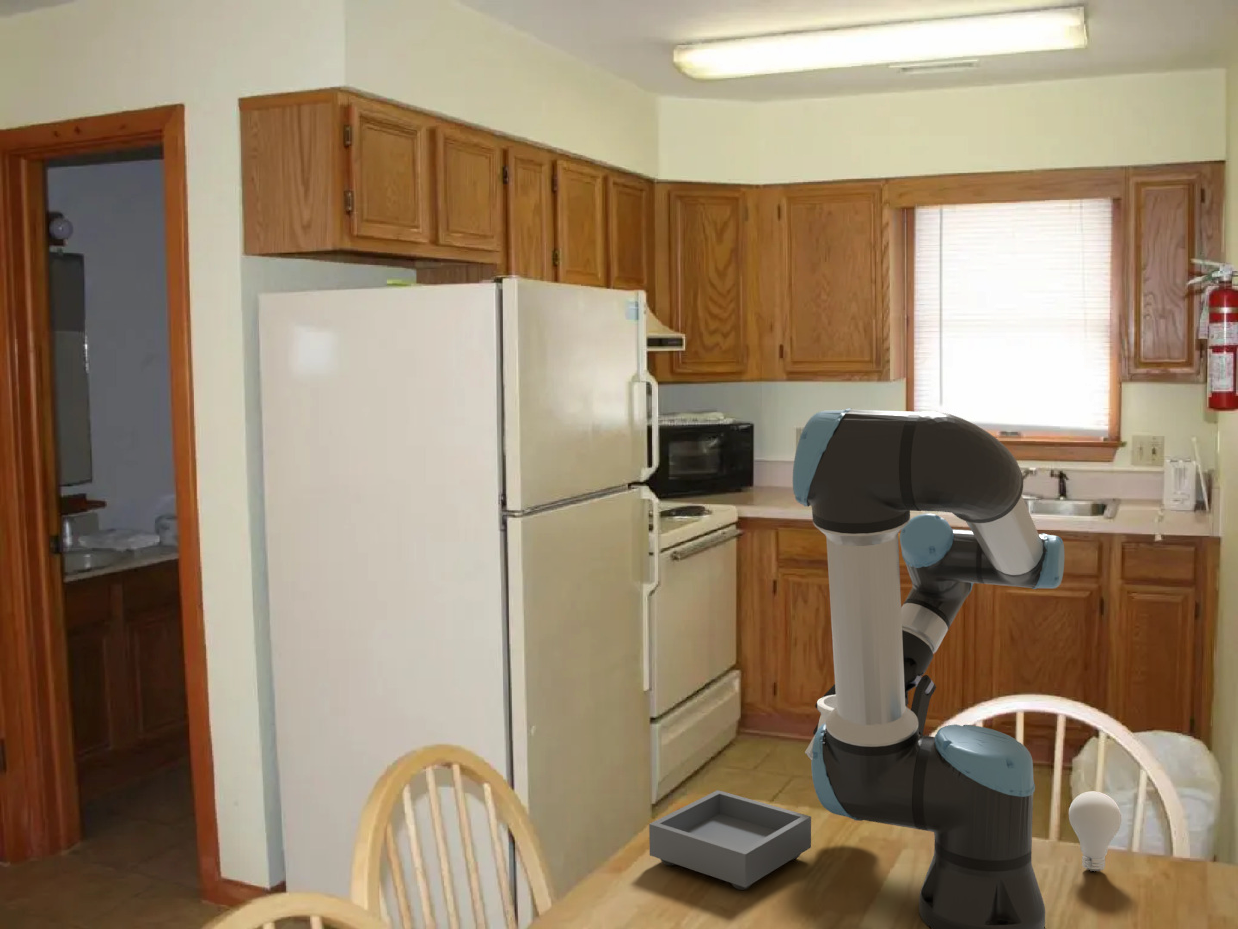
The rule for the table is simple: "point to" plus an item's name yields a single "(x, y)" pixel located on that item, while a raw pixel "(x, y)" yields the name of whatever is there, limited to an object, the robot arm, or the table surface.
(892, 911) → the table surface
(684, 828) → the footed square tray
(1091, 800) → the light bulb
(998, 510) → the robot arm
